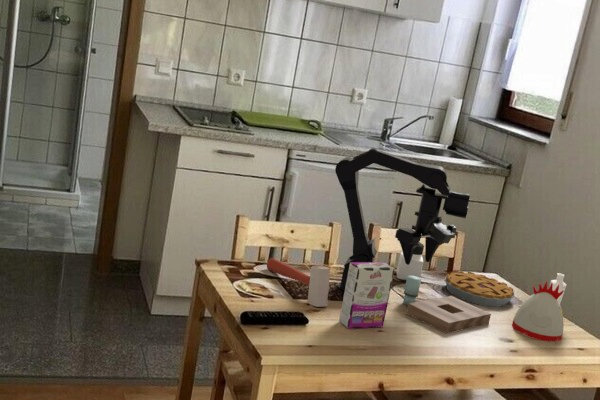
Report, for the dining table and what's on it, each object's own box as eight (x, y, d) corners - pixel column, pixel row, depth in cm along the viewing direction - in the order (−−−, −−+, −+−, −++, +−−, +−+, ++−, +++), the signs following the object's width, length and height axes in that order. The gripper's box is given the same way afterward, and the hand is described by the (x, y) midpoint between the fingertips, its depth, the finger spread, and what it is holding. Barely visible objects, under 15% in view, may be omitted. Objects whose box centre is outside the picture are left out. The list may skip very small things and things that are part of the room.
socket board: (446, 333, 202) (448, 323, 201) (406, 313, 212) (408, 303, 211) (488, 323, 216) (491, 313, 215) (449, 305, 226) (451, 295, 225)
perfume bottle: (556, 321, 229) (569, 274, 226) (556, 325, 225) (569, 278, 221) (540, 317, 230) (553, 270, 227) (540, 321, 226) (552, 273, 223)
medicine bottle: (417, 276, 249) (425, 241, 246) (419, 283, 242) (427, 247, 239) (396, 272, 249) (403, 237, 247) (396, 278, 242) (404, 242, 240)
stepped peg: (409, 307, 217) (415, 281, 216) (398, 302, 220) (404, 276, 218) (418, 305, 220) (424, 279, 218) (407, 300, 223) (413, 274, 221)
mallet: (266, 248, 227) (320, 268, 202) (277, 248, 229) (331, 268, 204) (263, 283, 228) (316, 307, 203) (273, 283, 230) (327, 307, 205)
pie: (429, 287, 240) (432, 272, 239) (467, 280, 256) (471, 266, 255) (487, 313, 226) (491, 297, 225) (525, 304, 241) (528, 289, 240)
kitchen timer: (560, 346, 209) (574, 295, 205) (510, 331, 213) (522, 281, 210) (561, 330, 221) (575, 282, 218) (514, 317, 226) (526, 269, 222)
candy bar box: (373, 320, 202) (385, 261, 199) (383, 327, 198) (396, 268, 195) (337, 321, 197) (349, 261, 193) (347, 329, 193) (359, 267, 189)
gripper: (431, 220, 202) (419, 275, 206) (471, 217, 215) (459, 269, 218) (399, 208, 210) (388, 261, 213) (440, 206, 223) (428, 257, 226)
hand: (417, 263), depth 218 cm, fingers open, 9 cm apart
